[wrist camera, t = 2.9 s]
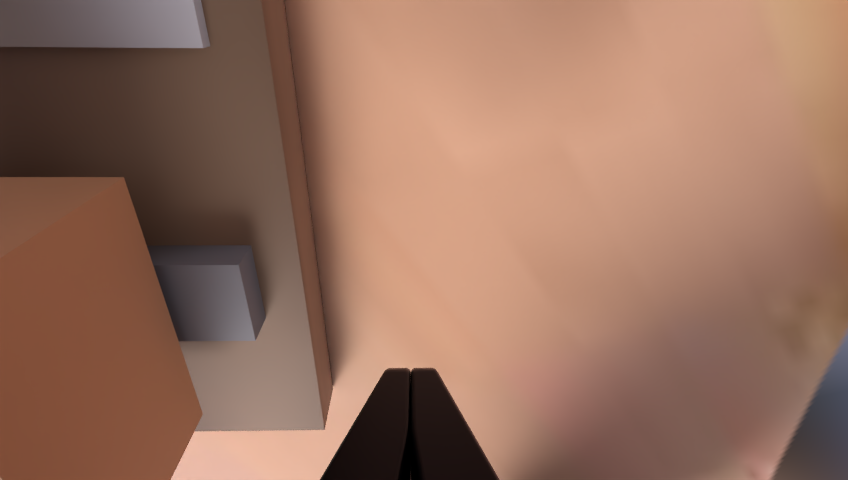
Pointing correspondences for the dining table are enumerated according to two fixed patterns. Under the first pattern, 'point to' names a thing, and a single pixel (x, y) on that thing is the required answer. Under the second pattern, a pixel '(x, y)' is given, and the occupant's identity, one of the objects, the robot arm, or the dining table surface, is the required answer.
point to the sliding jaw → (85, 339)
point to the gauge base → (188, 178)
